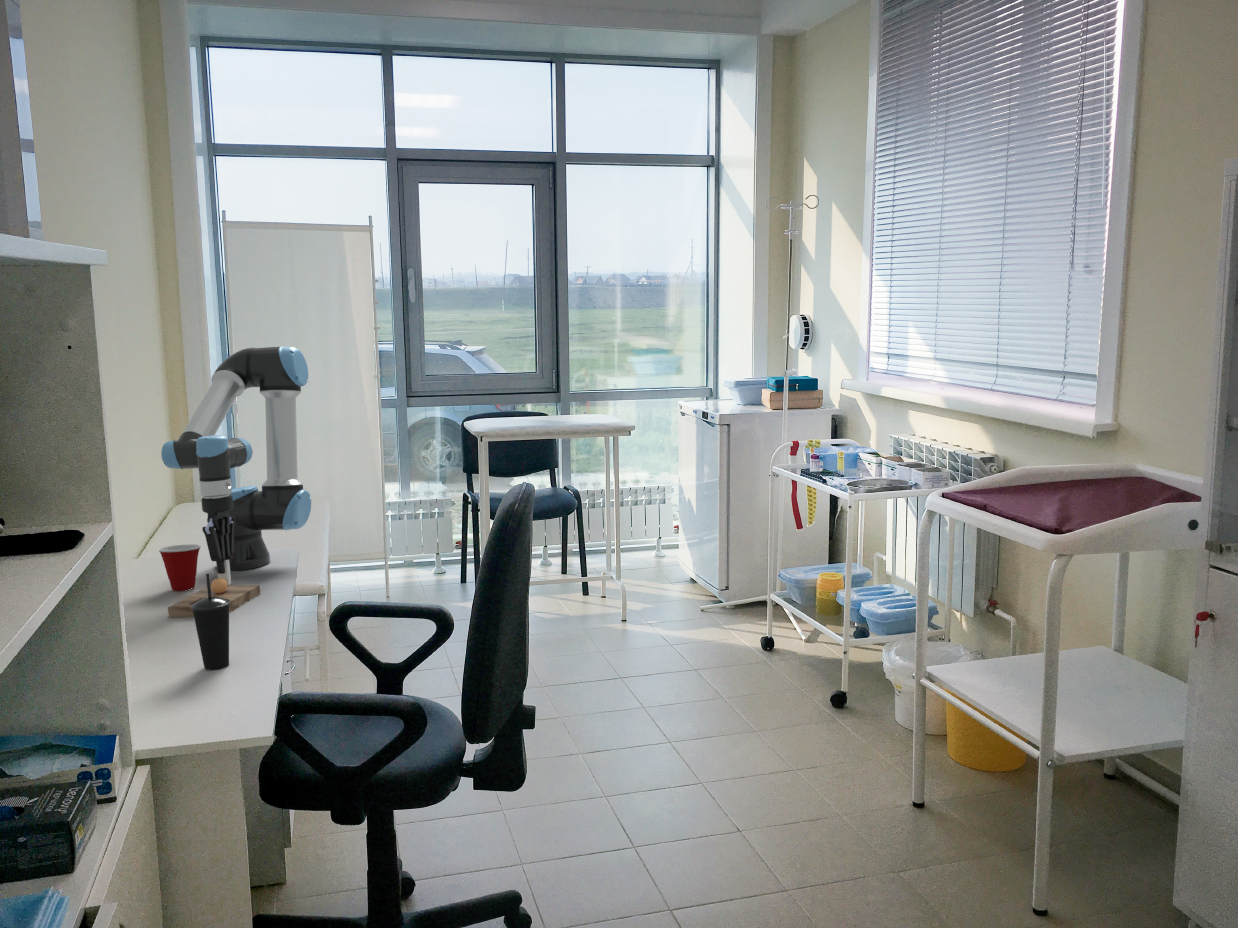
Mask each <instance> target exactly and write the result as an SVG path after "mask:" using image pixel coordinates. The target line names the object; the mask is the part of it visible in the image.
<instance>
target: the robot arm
mask: <svg viewBox="0 0 1238 928" xmlns="http://www.w3.org/2000/svg"><path fill="white" fill-rule="evenodd" d="M308 379H309V369H308V363H307V361H306V359H305V356H304V355H303V353H302V352H301V350H299V349H298V348H297V347H293V346H269V347H248V348H243V349H240V350H238V351H236V352H234V353H232V354H231V355H230V356H228V357H227V358H226V359H225V360H223V362H221V364H219V366H218V367H217V368H216V370H215V371H214V372H213V374H212V376H211V380H210V381H211V385H210V386H209V388H208V389H207V392H206V393H205V395H204V396H203V398H202V399H201V401H200V403H199V404H198V406H197V408H196V410H194V412H193V414H192V417H191V418H190V419H189V421H188V423H187V425H186V426H185V428H184V429H183V431H182V433H181V434H180V436H179V438H178V439H177V440H176V439H173V440H169V441H166V442H165V443H164V444H163V445H162V447H161V452H160V453H161V457H160V458H161V460H162V462H163V464H164V466H166V467H167V468H169V469H177V470H178V469H179V470H187V469H189V470H190V469H198V474H199V476H198V477H199V488H200V489H199V491H200V496H201V497H202V498H201V501H200V502H201V509H202V512H203V513H206V514H207V519H206V521H207V524H206V526H203V527H202V532H203V534H204V536H205V541H206V545H207V549H208V553H209V558H210V561H212V562H215V564H216V565H215V566H216V570H217V578H222V579H224V580H226V582H227V585H232V577H231V571H241V570H242V571H243V570H244V571H245V570H249V569H250V570H251V569H254V568H259V567H264V566H266V565H267V564H269V563H270V562H271V556H270V552H269V550H268V548H267V545H266V543H265V541H264V539H263V535H262V531H278V530H279V531H283V530H284V531H290V530H299V529H301V528H303V527H304V526H305V525H306V523H307V522H308V520H309V517H310V515H311V510H312V497H311V493H310V492H309V491H308V490H306V489H304V483H303V482H302V481H301V480H300V479H299V478H298V443H297V442H298V441H297V439H298V438H297V437H298V435H297V433H298V432H297V397H298V396H299V395H301V393H302V387H304V386H306V384H307V383H308ZM249 388H259V393H260V394H261V395H262V396H263V397H264V400H265V402H264V403H265V438H266V439H265V441H266V443H265V444H266V446H265V447H266V450H265V451H266V480H265V481H264V482H263V483H262V484H261V490H259V488H258V487H257V486H258V485H247V486H239V487H235V488H233V487H232V486H233V483H232V481H231V480H232V479H231V477H232V476H231V469H235V468H237V467H238V468H239V467H242V466H243V465H247V464H248V463H249V462H250V461H251V459H252V456H253V447H252V445H251V443H250V442H249V441H248V440H246V439H245V438H242V437H231V438H227V437H226V435H222V434H221V435H220V434H219V435H217V434H216V433H217V432H218V430H219V428H220V427H221V425H222V423H223V422H224V420H225V418H226V416H227V414H228V413H229V411H230V409H231V408H232V406H233V404H234V402H235V400H236V398H237V397H239V396H241V395H243V394H244V393H245V390H247V389H249Z"/></svg>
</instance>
